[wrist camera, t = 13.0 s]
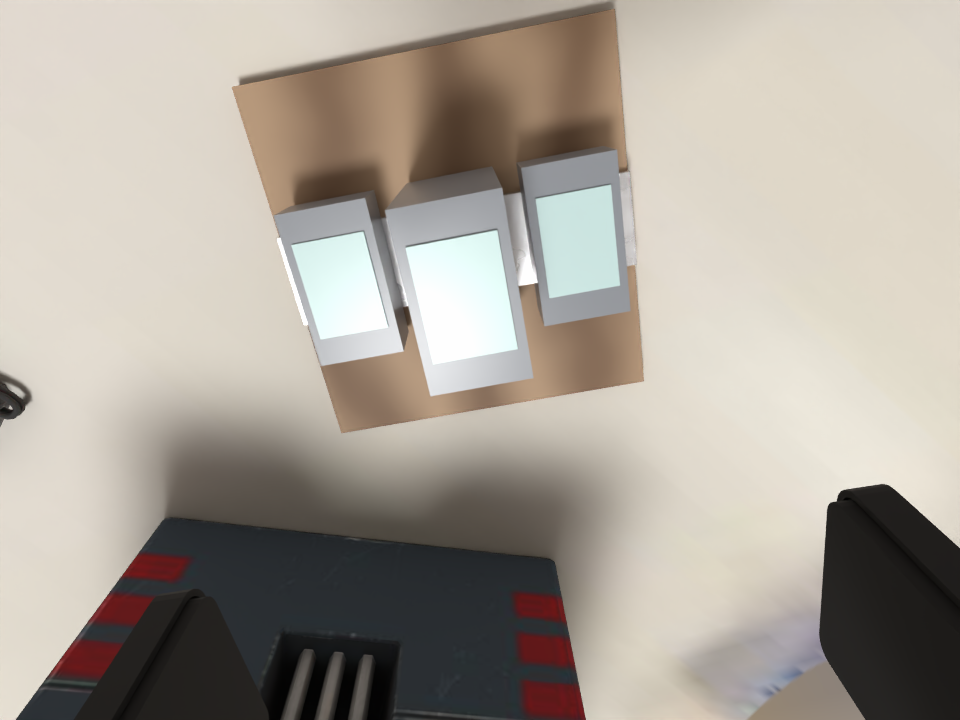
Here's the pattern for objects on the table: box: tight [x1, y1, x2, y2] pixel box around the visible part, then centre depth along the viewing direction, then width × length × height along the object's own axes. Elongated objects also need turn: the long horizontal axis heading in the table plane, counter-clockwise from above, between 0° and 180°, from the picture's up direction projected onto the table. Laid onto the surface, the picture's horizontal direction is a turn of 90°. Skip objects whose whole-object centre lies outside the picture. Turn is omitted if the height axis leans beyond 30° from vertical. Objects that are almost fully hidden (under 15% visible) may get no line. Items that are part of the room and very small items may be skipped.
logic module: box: [385, 166, 533, 396], centre depth 28 cm, size 4×8×9 cm, turn 10°
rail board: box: [232, 9, 644, 433], centre depth 31 cm, size 19×20×5 cm
